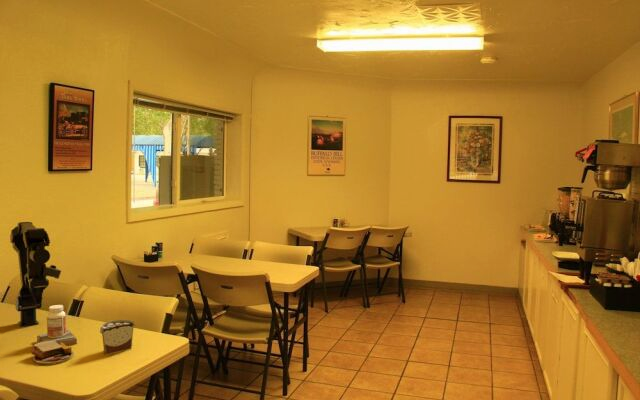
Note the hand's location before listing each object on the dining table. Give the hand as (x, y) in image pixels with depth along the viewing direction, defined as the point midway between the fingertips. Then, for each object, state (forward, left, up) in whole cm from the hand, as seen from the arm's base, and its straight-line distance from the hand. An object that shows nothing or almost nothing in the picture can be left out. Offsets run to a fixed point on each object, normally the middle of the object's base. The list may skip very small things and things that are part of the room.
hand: (37, 301), depth 201 cm
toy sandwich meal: (+29, -1, -13) cm, 32 cm away
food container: (+33, +19, -13) cm, 40 cm away
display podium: (+14, +4, -13) cm, 19 cm away
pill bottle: (+13, +4, -11) cm, 17 cm away
